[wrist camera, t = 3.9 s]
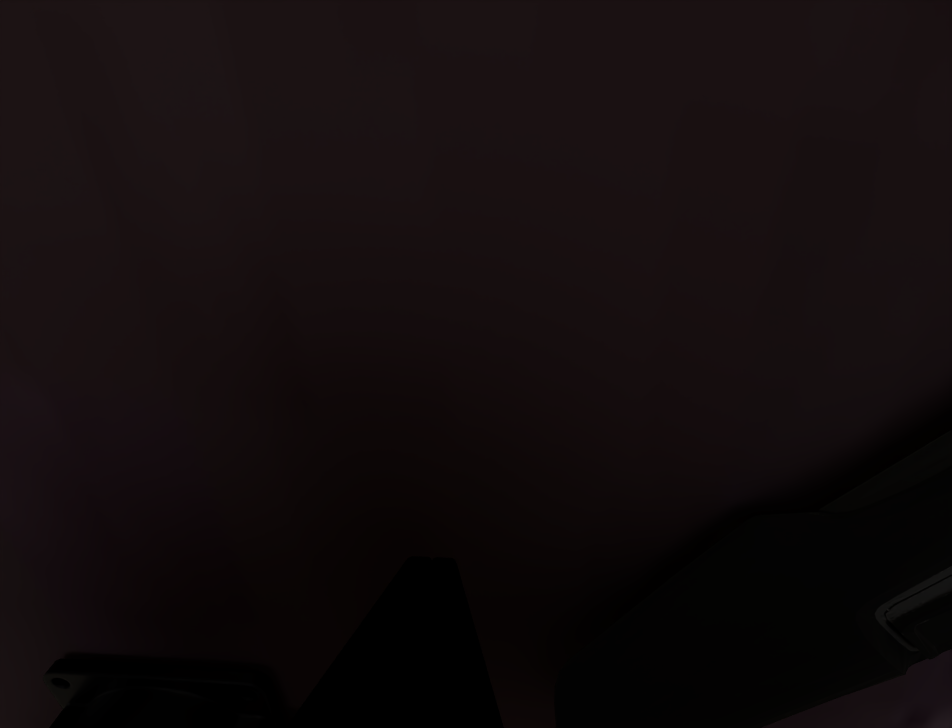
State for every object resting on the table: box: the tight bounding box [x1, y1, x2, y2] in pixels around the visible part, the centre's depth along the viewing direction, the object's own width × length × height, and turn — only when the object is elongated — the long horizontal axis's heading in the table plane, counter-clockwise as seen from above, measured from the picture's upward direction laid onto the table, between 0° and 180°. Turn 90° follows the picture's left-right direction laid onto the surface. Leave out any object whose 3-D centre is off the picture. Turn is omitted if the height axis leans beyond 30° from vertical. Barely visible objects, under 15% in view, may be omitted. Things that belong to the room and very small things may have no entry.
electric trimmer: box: [554, 430, 952, 728], centre depth 9 cm, size 4×16×3 cm, turn 138°
